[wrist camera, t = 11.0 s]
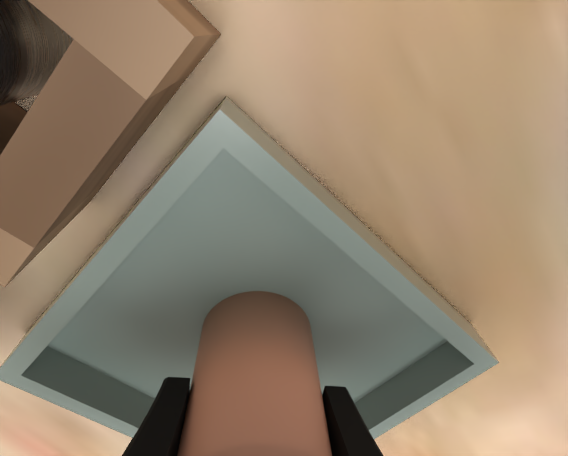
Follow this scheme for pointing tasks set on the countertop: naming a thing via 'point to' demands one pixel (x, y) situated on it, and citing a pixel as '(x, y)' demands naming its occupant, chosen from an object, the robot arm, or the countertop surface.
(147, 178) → the countertop surface
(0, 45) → the cylinder
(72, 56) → the walnut block
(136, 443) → the robot arm
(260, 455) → the terracotta round
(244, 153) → the tray
